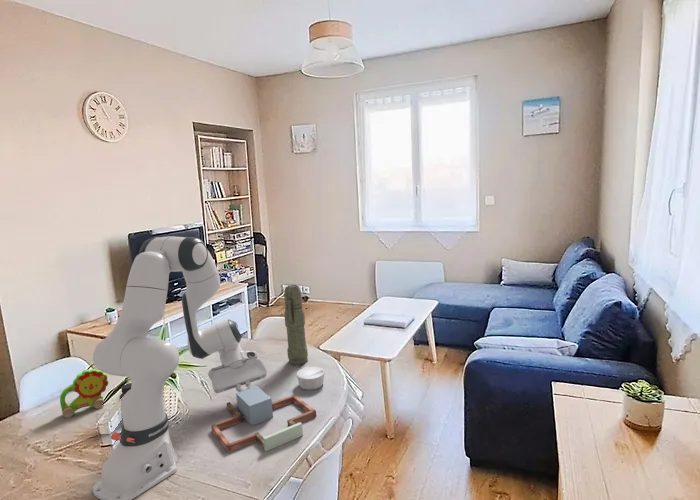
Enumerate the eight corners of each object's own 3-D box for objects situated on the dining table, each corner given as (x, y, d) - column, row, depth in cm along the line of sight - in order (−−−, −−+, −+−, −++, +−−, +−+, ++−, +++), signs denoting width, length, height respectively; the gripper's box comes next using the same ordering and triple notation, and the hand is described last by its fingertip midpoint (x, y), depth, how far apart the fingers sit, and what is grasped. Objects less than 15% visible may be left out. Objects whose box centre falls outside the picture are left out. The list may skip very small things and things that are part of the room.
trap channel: (201, 417, 153) (200, 411, 153) (281, 388, 170) (280, 384, 170) (235, 462, 127) (234, 455, 126) (325, 423, 144) (324, 417, 144)
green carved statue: (285, 367, 191) (278, 290, 185) (291, 356, 202) (285, 283, 197) (305, 366, 190) (299, 289, 184) (310, 356, 201) (304, 282, 196)
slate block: (238, 411, 155) (236, 393, 154) (258, 403, 160) (257, 386, 159) (251, 425, 146) (249, 406, 145) (273, 417, 150) (271, 398, 149)
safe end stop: (264, 449, 132) (263, 437, 131) (301, 433, 139) (300, 422, 138) (266, 451, 131) (264, 439, 130) (303, 435, 138) (302, 423, 137)
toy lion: (63, 420, 157) (56, 380, 154) (62, 414, 161) (55, 375, 159) (112, 405, 166) (106, 367, 163) (110, 399, 170) (104, 363, 168)
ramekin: (321, 392, 166) (320, 379, 165) (293, 390, 169) (292, 378, 168) (328, 378, 177) (327, 366, 176) (302, 377, 179) (301, 365, 178)
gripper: (208, 366, 156) (220, 401, 149) (260, 350, 167) (274, 383, 161) (205, 373, 160) (217, 408, 154) (257, 358, 172) (269, 390, 165)
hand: (246, 395), depth 157 cm, fingers closed, pressing on slate block
